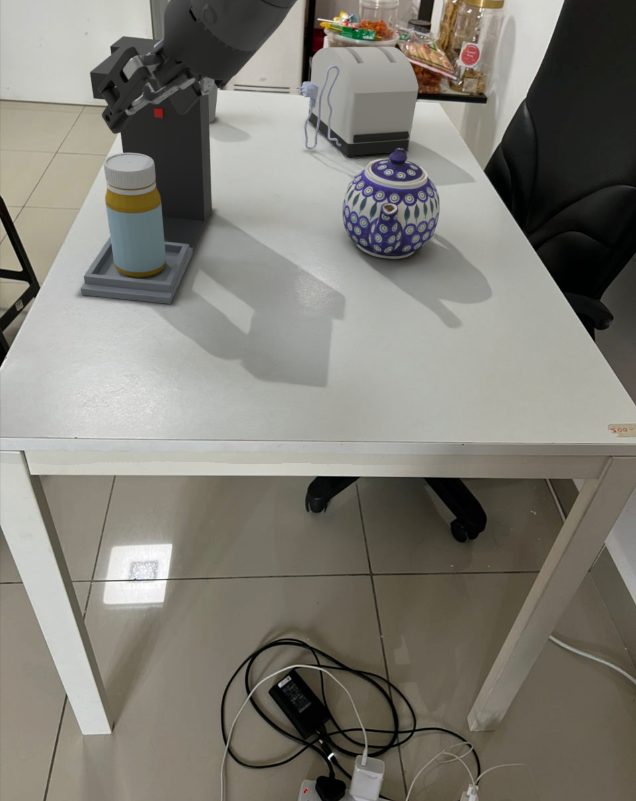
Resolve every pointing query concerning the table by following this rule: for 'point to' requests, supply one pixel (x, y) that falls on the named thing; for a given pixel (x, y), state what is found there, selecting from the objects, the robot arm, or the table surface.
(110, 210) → the bottle
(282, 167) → the table surface
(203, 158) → the coffee maker
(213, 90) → the cup
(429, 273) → the table surface
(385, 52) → the toaster
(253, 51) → the robot arm
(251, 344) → the table surface
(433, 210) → the teapot
